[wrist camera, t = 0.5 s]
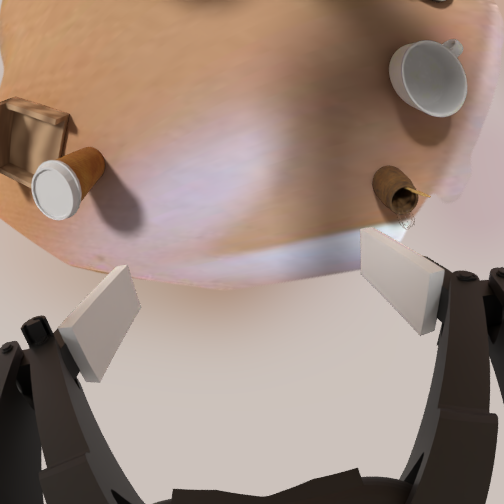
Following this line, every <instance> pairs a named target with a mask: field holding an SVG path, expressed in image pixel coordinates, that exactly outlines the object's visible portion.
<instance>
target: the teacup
mask: <svg viewBox="0 0 504 504" xmlns="http://www.w3.org/2000/svg"><path fill="white" fill-rule="evenodd" d="M462 52H463V46H462V44H461V43H460V42H459V41H458V40H456V39H450V40H448V41H446V42H444V43H443V44H440V43H437V42H435V41H430V40H423V41H418V42H415V43H411V44H407V45H404V46H402V47H401V48H399V49H398V50H397V51H396V52H395V53H394V54H393V56H392V58H391V61H390V65H389V75H390V80H391V83H392V86H393V88H394V90H395V91H396V93H397V94H398V95H399V97H400V98H401V99H402V100H403V101H405V102H406V103H407V104H409V105H410V106H412V107H414V108H416V109H418V110H420V111H423V112H424V113H426V114H428V115H431V116H435V117H447V116H450V115H452V114H454V113H456V112H457V111H458V110H459V109H460V108H461V106H462V105H463V103H464V101H465V99H466V95H467V79H466V74H465V72H464V69H463V67H462V65H461V63H460V62H459V60H458V58H457V57H458V56H459V55H460V54H461V53H462Z"/></svg>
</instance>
